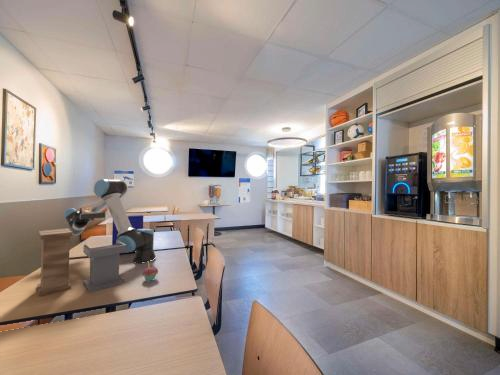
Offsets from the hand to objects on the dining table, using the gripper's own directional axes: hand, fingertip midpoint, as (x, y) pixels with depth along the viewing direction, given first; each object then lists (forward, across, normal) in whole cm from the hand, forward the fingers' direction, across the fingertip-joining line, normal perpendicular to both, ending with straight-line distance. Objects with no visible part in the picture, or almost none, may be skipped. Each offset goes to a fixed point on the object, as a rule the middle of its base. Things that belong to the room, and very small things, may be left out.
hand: (87, 209), depth 138 cm
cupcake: (+17, -23, -56) cm, 63 cm away
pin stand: (-5, +17, -43) cm, 46 cm away
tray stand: (+5, -3, -49) cm, 49 cm away
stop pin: (+1, 0, -5) cm, 5 cm away
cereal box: (-40, -32, -23) cm, 56 cm away
